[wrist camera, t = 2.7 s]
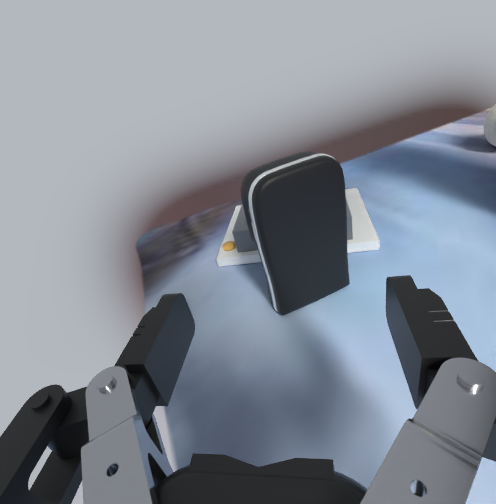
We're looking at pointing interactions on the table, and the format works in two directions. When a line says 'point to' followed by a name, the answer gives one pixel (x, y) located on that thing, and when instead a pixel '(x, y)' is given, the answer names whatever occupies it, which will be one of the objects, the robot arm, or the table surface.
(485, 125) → the off-white ball
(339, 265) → the battery charger
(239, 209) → the charging dock
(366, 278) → the table surface
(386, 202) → the table surface
